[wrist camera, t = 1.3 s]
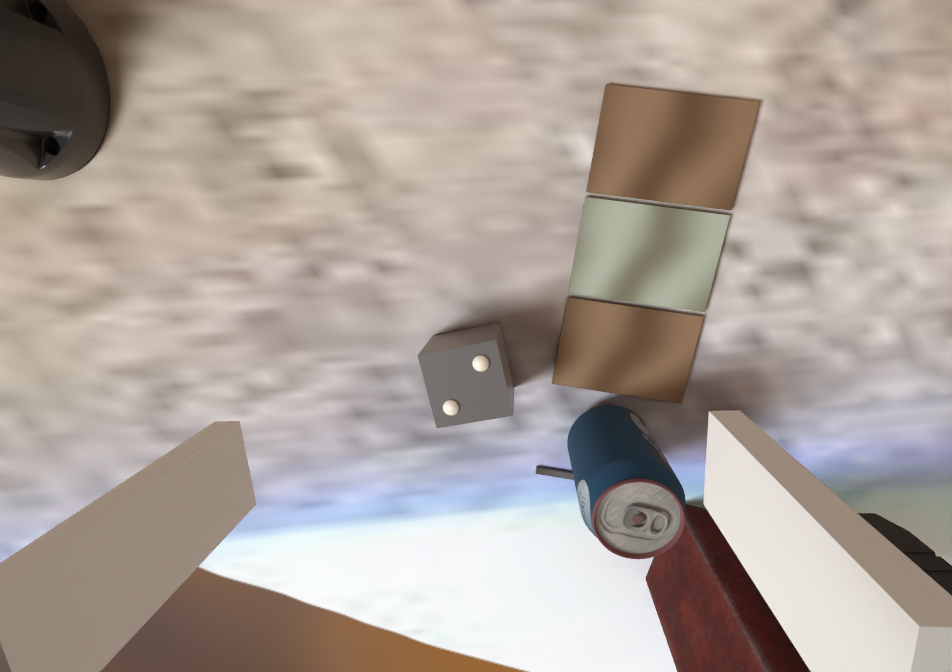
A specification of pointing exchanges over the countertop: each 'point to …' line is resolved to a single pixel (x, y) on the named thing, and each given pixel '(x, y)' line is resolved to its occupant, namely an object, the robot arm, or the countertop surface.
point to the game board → (650, 240)
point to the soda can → (625, 483)
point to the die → (468, 375)
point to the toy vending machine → (715, 606)
